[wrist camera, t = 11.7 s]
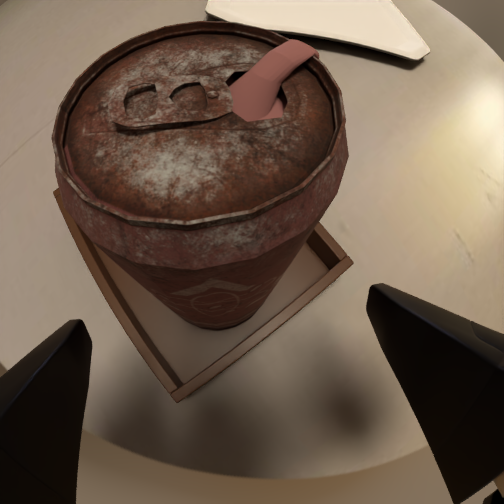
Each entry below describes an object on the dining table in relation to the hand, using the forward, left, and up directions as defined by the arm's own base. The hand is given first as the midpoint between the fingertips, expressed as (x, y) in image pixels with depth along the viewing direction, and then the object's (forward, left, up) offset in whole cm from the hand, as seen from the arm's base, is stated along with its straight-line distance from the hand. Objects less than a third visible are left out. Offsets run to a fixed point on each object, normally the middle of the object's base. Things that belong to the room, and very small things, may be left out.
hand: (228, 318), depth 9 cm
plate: (+27, -35, -9) cm, 45 cm away
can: (+3, -2, -9) cm, 9 cm away
